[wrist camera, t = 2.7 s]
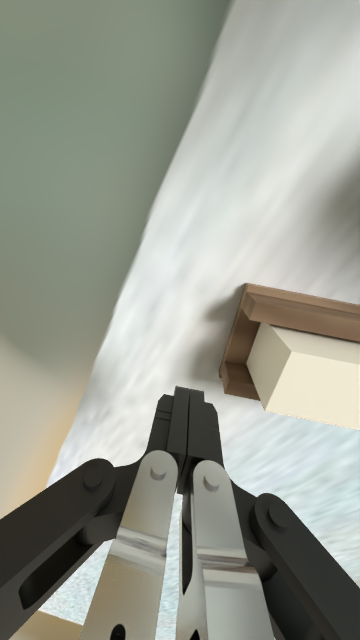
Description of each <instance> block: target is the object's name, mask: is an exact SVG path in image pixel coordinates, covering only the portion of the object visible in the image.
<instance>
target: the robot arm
mask: <svg viewBox="0 0 360 640" xmlns="http://www.w3.org/2000/svg"><path fill="white" fill-rule="evenodd" d="M176 488H177V494H182V495H183V502H182V510H181V513H180V519H179V602H178V610H177V620H176V640H275V639H276V640H360V588H359V587H358V586H357V585H356V583H355V582H354V581H353V580H352V579H351V578H350V577H349V575H348V574H347V573H346V572H345V571H344V570H343V569H342V567H341V566H340V565H339V564H338V563H337V562H336V560H335V559H334V558H333V557H332V556H331V555H330V554H329V552H328V551H327V550H326V549H325V548H324V547H323V546H322V544H321V543H320V542H319V541H318V540H317V539H316V537H315V536H314V535H313V534H312V533H311V532H310V531H309V529H308V528H307V527H306V526H305V525H304V524H303V523H302V521H301V520H300V519H299V518H298V517H297V516H296V514H295V513H294V512H293V511H292V510H291V509H290V508H289V506H288V505H287V504H286V503H285V502H284V501H283V500H281V499H280V498H279V497H277V496H275V495H273V494H270V493H263V494H261V495H259V496H258V497H255V496H253V495H252V494H250V493H248V492H247V491H245V490H243V489H241V488H240V487H238V486H237V485H236V484H235V483H234V482H233V481H232V480H231V479H230V478H229V475H228V474H227V472H226V471H225V468H224V464H223V457H222V449H221V440H220V432H219V424H218V415H217V411H216V410H215V408H214V406H213V404H211V403H206V402H204V392H203V391H199V390H194V389H190V390H189V389H188V388H183V387H178V386H176V387H175V391H174V396H171V395H166V394H164V395H163V396H162V397H161V398H160V399H159V401H158V404H157V408H156V413H155V417H154V421H153V425H152V429H151V433H150V437H149V441H148V446H147V449H146V451H145V453H144V455H143V456H142V457H141V458H140V459H139V460H138V461H137V462H135V463H133V464H130V465H126V466H120V467H114V466H113V465H112V464H111V463H110V462H109V461H108V460H105V459H101V458H97V459H92V460H89V461H87V462H85V463H84V464H82V465H81V466H79V467H78V468H76V469H75V470H73V471H72V472H70V473H69V474H67V475H66V476H64V477H63V478H61V479H60V480H58V481H57V482H55V483H54V484H52V485H51V486H49V487H48V488H46V489H45V490H44V491H42V492H40V493H39V494H37V495H36V496H35V497H33V498H32V499H30V500H29V501H27V502H26V503H24V504H23V505H21V506H20V507H18V508H17V509H15V510H14V511H12V512H11V513H9V514H8V515H6V516H5V517H3V518H2V519H0V640H8V639H9V638H10V637H11V636H12V635H13V634H14V633H15V632H16V631H17V630H18V629H19V628H20V627H21V626H22V625H23V624H24V623H25V622H26V621H27V620H28V619H29V618H30V617H31V616H32V615H33V614H34V613H35V612H36V611H37V610H38V609H39V608H40V607H41V606H42V605H43V604H44V603H45V602H46V601H47V600H48V599H49V598H50V597H51V595H52V594H53V593H54V592H55V591H56V590H57V589H58V588H59V587H60V586H61V585H62V584H63V583H64V582H65V581H66V580H67V579H68V578H69V577H70V576H71V575H72V574H73V573H74V572H75V571H76V570H77V569H78V568H79V567H80V566H81V565H82V564H83V563H84V562H85V561H86V560H87V559H88V558H89V557H90V556H91V555H92V554H93V553H94V551H95V550H96V549H97V548H98V547H99V546H100V545H101V544H102V543H103V542H104V541H108V540H112V539H114V540H113V542H112V544H111V547H110V549H109V552H108V555H107V558H106V561H105V564H104V567H103V570H102V573H101V576H100V578H99V581H98V584H97V587H96V590H95V593H94V596H93V599H92V602H91V605H90V608H89V611H88V614H87V617H86V620H85V623H84V625H83V629H82V632H81V634H80V637H79V640H155V634H156V627H157V620H158V613H159V606H160V600H161V593H162V586H163V579H164V572H165V565H166V548H167V541H168V534H169V528H170V521H171V515H172V508H173V502H174V495H175V492H176ZM274 638H275V639H274Z"/></svg>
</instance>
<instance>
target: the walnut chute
mask: <svg viewBox="0 0 360 640" xmlns="http://www.w3.org/2000/svg"><path fill="white" fill-rule="evenodd" d="M261 322H263V323H268V324H273V325H278V326H283V327H288V328H293V329H298V330H303V331H308V332H313V333H318V334H323V335H328V336H333V337H338V338H343V339H348V340H353V341H358V342H360V305H356V304H351V303H346V302H341V301H336V300H331V299H326V298H321V297H316V296H311V295H306V294H301V293H296V292H290V291H285V290H280V289H275V288H270V287H265V286H260V285H255V284H250V283H246V285H245V288H244V291H243V295H242V298H241V301H240V304H239V308H238V311H237V314H236V318H235V321H234V324H233V327H232V331H231V334H230V337H229V340H228V344H227V347H226V350H225V353H224V357H223V360H222V363H221V366H220V370H219V377H220V378H222V381H223V387H224V393H225V394H229V395H234V396H239V397H244V398H249V399H254V400H259V401H261V400H260V398H259V395H258V393H257V390H256V387H255V385H254V382H253V380H252V377H251V375H250V372H249V369H248V367H247V364H246V363H247V360H248V357H249V354H250V352H251V349H252V346H253V343H254V341H255V338H256V335H257V332H258V330H259V327H260V324H261Z"/></svg>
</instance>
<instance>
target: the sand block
mask: <svg viewBox="0 0 360 640" xmlns="http://www.w3.org/2000/svg"><path fill="white" fill-rule="evenodd" d="M246 364H247V367H248V369H249V372H250V375H251V377H252V380H253V382H254V385H255V387H256V390H257V393H258V395H259V398H260V400H261V403H262V405H263V408H264V411H267V412H272V413H277V414H282V415H286V416H291V417H296V418H301V419H306V420H311V421H316V422H321V423H326V424H331V425H336V426H340V427H345V428H350V429H355V430H360V342H358V341H353V340H348V339H343V338H338V337H333V336H328V335H323V334H318V333H313V332H308V331H303V330H298V329H293V328H288V327H283V326H278V325H273V324H268V323H263V322H261V324H260V327H259V330H258V332H257V335H256V338H255V341H254V343H253V346H252V349H251V352H250V354H249V357H248V360H247V363H246Z"/></svg>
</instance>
